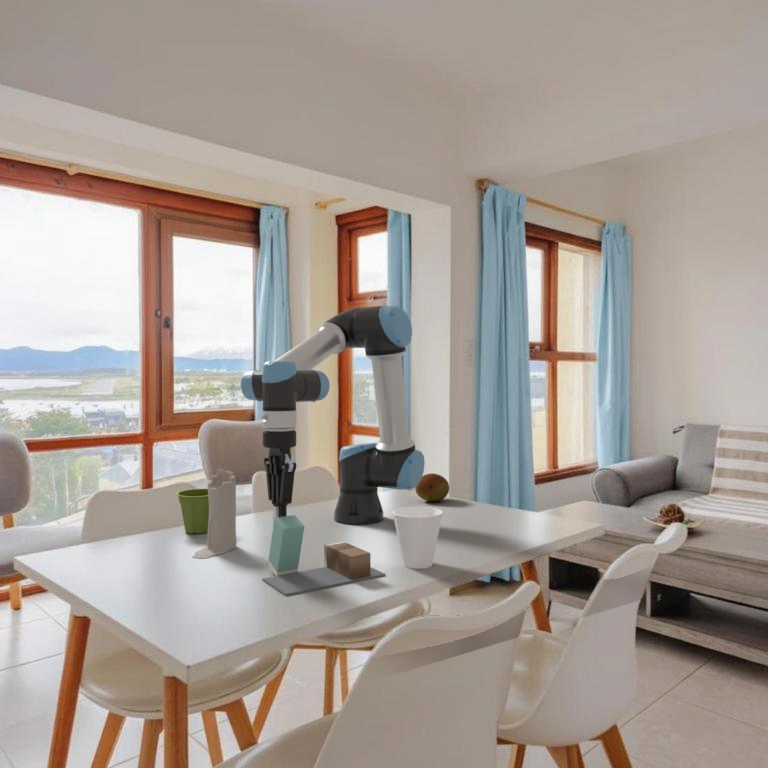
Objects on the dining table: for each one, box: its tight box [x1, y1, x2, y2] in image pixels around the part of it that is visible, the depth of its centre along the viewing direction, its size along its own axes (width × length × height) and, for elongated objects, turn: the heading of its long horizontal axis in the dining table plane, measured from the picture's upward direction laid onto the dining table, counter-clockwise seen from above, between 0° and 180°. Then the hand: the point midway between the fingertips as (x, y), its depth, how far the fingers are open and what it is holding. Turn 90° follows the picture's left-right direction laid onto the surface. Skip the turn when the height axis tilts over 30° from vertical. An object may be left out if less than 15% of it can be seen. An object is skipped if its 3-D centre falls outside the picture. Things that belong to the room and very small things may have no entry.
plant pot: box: [176, 488, 209, 535], centre depth 187 cm, size 12×12×11 cm
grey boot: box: [192, 468, 237, 559], centre depth 166 cm, size 7×14×20 cm, turn 160°
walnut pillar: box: [323, 541, 371, 580], centre depth 147 cm, size 5×5×12 cm
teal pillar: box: [267, 514, 305, 576], centre depth 146 cm, size 5×5×12 cm
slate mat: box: [261, 566, 386, 597], centre depth 143 cm, size 12×24×1 cm, turn 123°
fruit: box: [414, 473, 450, 503], centre depth 229 cm, size 12×12×10 cm
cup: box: [392, 506, 444, 570], centre depth 153 cm, size 12×12×12 cm
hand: (279, 533), depth 148 cm, fingers closed
